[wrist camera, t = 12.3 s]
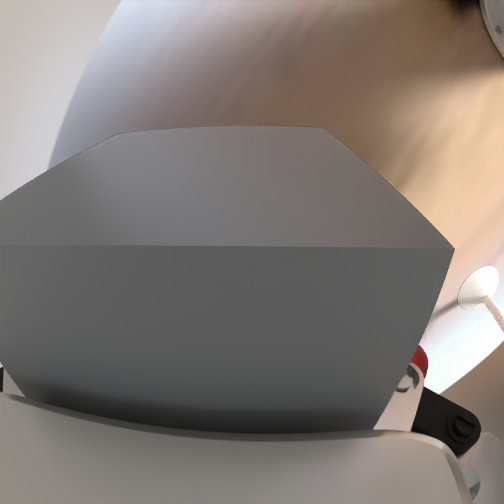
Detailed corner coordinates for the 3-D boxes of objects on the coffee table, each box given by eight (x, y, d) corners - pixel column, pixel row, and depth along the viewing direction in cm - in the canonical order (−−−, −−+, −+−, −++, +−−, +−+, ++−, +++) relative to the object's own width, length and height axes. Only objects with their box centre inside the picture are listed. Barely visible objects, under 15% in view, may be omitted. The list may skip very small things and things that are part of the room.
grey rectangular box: (119, 133, 11) (-59, 245, 3) (323, 127, 11) (454, 248, 3) (159, 345, 17) (119, 493, 9) (301, 349, 16) (316, 507, 9)
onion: (418, 322, 34) (441, 371, 27) (415, 351, 37) (434, 399, 30) (374, 334, 35) (391, 387, 28) (375, 363, 38) (389, 413, 31)
